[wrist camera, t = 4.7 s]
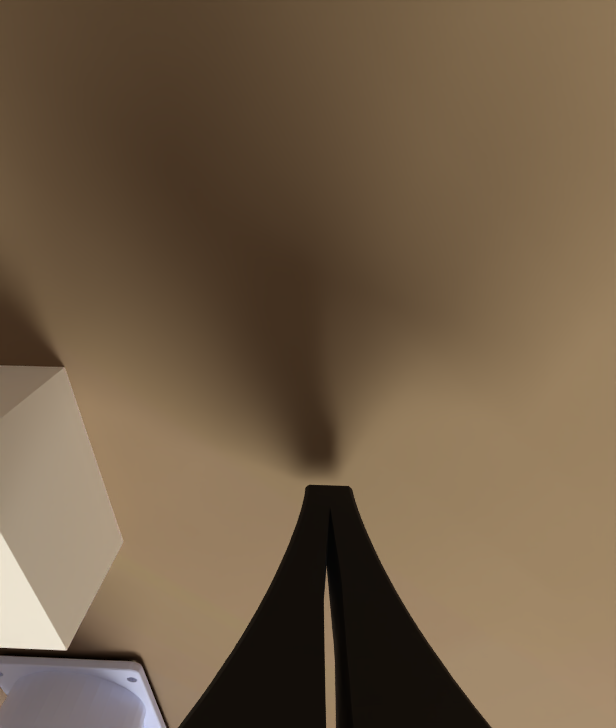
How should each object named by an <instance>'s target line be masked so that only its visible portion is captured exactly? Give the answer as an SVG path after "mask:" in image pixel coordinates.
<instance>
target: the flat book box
mask: <svg viewBox="0 0 616 728" xmlns="http://www.w3.org/2000/svg"><path fill="white" fill-rule="evenodd" d="M122 544H123V539H122V536H121V533H120V530H119V527H118V524H117V521H116V518H115V515H114V512H113V509H112V506H111V503H110V500H109V497H108V494H107V491H106V488H105V485H104V482H103V479H102V476H101V473H100V470H99V467H98V464H97V461H96V458H95V455H94V452H93V449H92V447H91V444H90V441H89V438H88V435H87V432H86V429H85V426H84V423H83V420H82V417H81V414H80V411H79V408H78V405H77V402H76V399H75V396H74V393H73V390H72V387H71V384H70V381H69V378H68V375H67V372H66V369H65V367H45V366H7V365H0V648H22V649H45V650H67V649H68V647H69V645H70V644H71V642H72V640H73V638H74V636H75V634H76V632H77V630H78V628H79V626H80V624H81V622H82V620H83V619H84V617H85V615H86V613H87V611H88V609H89V607H90V605H91V603H92V601H93V599H94V597H95V596H96V594H97V592H98V590H99V588H100V586H101V584H102V582H103V580H104V578H105V576H106V574H107V572H108V571H109V569H110V567H111V565H112V563H113V561H114V559H115V557H116V555H117V553H118V551H119V549H120V547H121V546H122Z"/></svg>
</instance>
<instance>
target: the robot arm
mask: <svg viewBox="0 0 616 728" xmlns="http://www.w3.org/2000/svg"><path fill="white" fill-rule="evenodd" d="M326 566H327V575H328V586H329V597H330V608H331V619H332V629H333V640H334V655H335V691H336V728H491V726H490V725H489V724H488V723H487V721H486V720H485V719H484V718H483V717H482V715H481V714H480V713H479V712H478V710H477V709H476V708H475V706H474V705H473V704H472V703H471V701H470V700H469V699H468V697H467V696H466V695H465V693H464V692H463V691H462V689H461V688H460V687H459V685H458V684H457V683H456V682H455V680H454V679H453V677H452V676H451V675H450V673H449V672H448V670H447V669H446V667H445V666H444V665H443V663H442V662H441V660H440V659H439V658H438V656H437V655H436V653H435V652H434V650H433V649H432V648H431V646H430V645H429V643H428V642H427V640H426V639H425V637H424V636H423V634H422V633H421V631H420V630H419V628H418V627H417V625H416V623H415V622H414V620H413V619H412V617H411V616H410V614H409V612H408V611H407V609H406V607H405V606H404V604H403V602H402V601H401V599H400V597H399V595H398V594H397V592H396V590H395V588H394V587H393V585H392V583H391V581H390V579H389V577H388V575H387V573H386V572H385V570H384V568H383V566H382V564H381V562H380V560H379V558H378V556H377V554H376V551H375V549H374V547H373V545H372V543H371V540H370V538H369V536H368V534H367V531H366V529H365V527H364V524H363V522H362V519H361V516H360V514H359V511H358V508H357V505H356V502H355V499H354V495H353V491H352V489H351V488H350V487H349V486H330V485H308V486H307V487H306V488H305V496H304V500H303V505H302V508H301V512H300V515H299V518H298V521H297V524H296V527H295V530H294V532H293V535H292V537H291V540H290V543H289V545H288V548H287V550H286V552H285V555H284V557H283V559H282V561H281V563H280V566H279V568H278V570H277V572H276V574H275V577H274V579H273V581H272V583H271V585H270V587H269V589H268V591H267V592H266V594H265V596H264V598H263V600H262V602H261V604H260V605H259V607H258V609H257V611H256V613H255V614H254V616H253V618H252V619H251V621H250V623H249V625H248V626H247V628H246V630H245V631H244V633H243V635H242V636H241V638H240V640H239V641H238V643H237V644H236V646H235V648H234V649H233V651H232V652H231V654H230V655H229V657H228V658H227V660H226V661H225V663H224V664H223V666H222V667H221V669H220V670H219V672H218V673H217V675H216V676H215V678H214V679H213V681H212V682H211V684H210V685H209V686H208V688H207V689H206V691H205V692H204V694H203V695H202V696H201V698H200V699H199V700H198V702H197V703H196V704H195V706H194V707H193V708H192V710H191V711H190V712H189V714H188V715H187V716H186V718H185V719H184V720H183V722H182V723H181V724H180V726H179V727H178V728H326V705H325V654H324V591H325V578H326ZM0 687H1V688H2V690H3V691H4V692H5V693H6V695H7V697H6V699H5V701H4V702H3V704H2V706H1V708H0V728H166V726H165V723H164V720H163V718H162V715H161V713H160V710H159V708H158V705H157V703H156V700H155V698H154V695H153V693H152V690H151V688H150V685H149V683H148V680H147V678H146V675H145V672H144V670H143V667H142V666H141V664H139V663H137V662H133V661H113V660H90V659H68V658H45V657H22V656H0Z"/></svg>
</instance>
